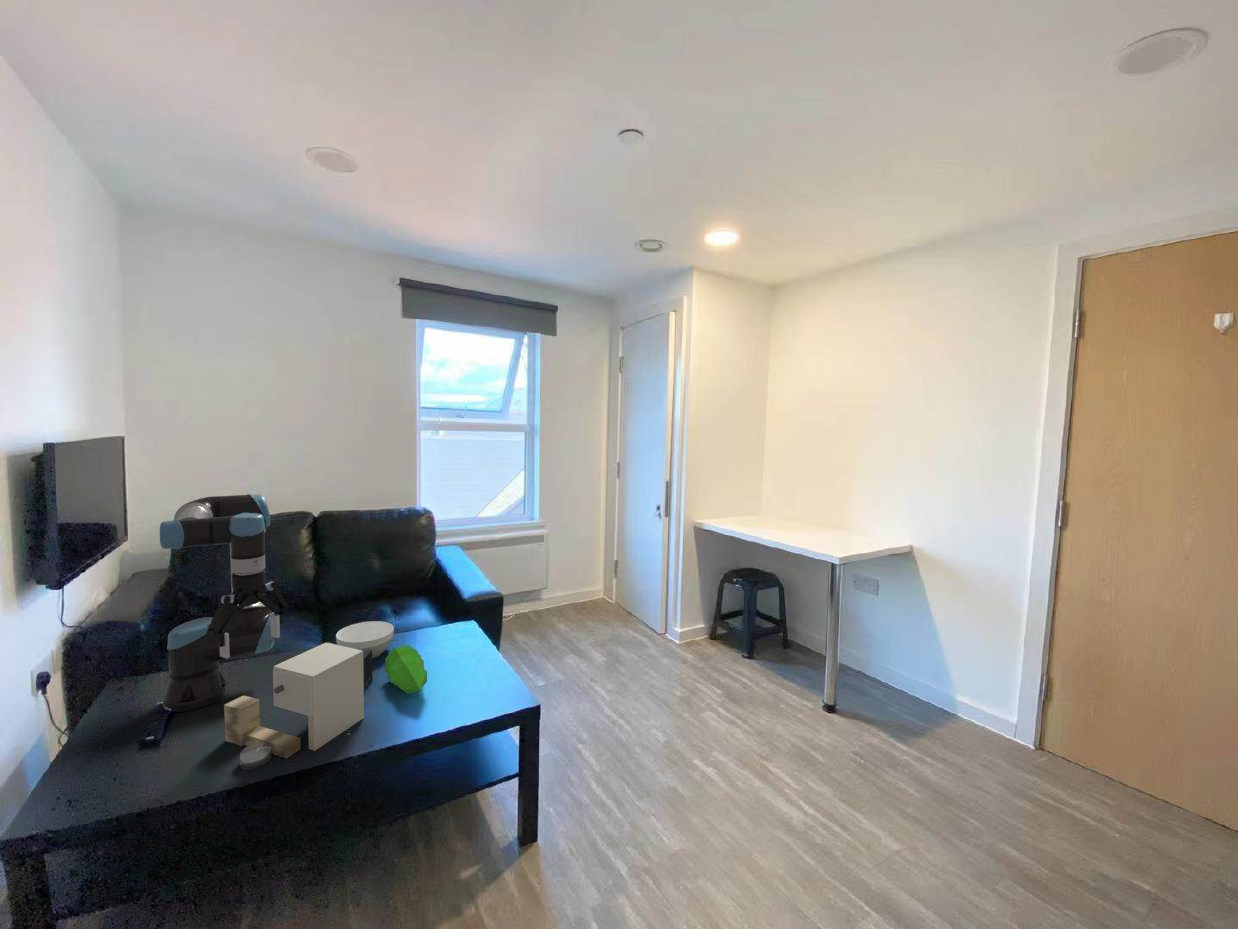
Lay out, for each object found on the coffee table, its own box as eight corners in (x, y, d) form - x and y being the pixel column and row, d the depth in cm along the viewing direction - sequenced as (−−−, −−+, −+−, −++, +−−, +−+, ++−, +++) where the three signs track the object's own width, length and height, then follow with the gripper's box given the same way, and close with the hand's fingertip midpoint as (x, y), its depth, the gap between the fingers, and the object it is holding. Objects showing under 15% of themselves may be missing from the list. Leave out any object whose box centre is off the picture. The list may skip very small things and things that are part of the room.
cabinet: (268, 742, 136) (266, 669, 134) (327, 707, 153) (326, 642, 151) (307, 755, 131) (305, 680, 130) (364, 718, 148) (363, 650, 147)
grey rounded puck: (237, 772, 125) (236, 761, 124) (243, 756, 131) (243, 745, 130) (268, 766, 127) (268, 754, 127) (273, 750, 133) (273, 739, 133)
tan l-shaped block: (225, 741, 136) (224, 704, 135) (244, 730, 141) (243, 695, 140) (284, 759, 130) (283, 721, 129) (302, 748, 134) (301, 711, 134)
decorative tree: (406, 631, 179) (430, 663, 154) (420, 658, 182) (445, 693, 157) (373, 651, 173) (392, 686, 149) (388, 678, 176) (409, 718, 152)
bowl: (385, 639, 201) (385, 617, 200) (400, 657, 186) (400, 633, 186) (331, 651, 189) (330, 628, 188) (342, 672, 174) (342, 647, 174)
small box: (373, 679, 170) (373, 649, 169) (364, 690, 163) (364, 658, 163) (341, 679, 170) (340, 648, 169) (330, 689, 163) (330, 657, 162)
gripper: (207, 587, 127) (210, 669, 129) (301, 561, 150) (303, 631, 152) (187, 582, 129) (191, 663, 131) (283, 557, 152) (285, 626, 155)
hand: (251, 646), depth 142 cm, fingers open, 13 cm apart
